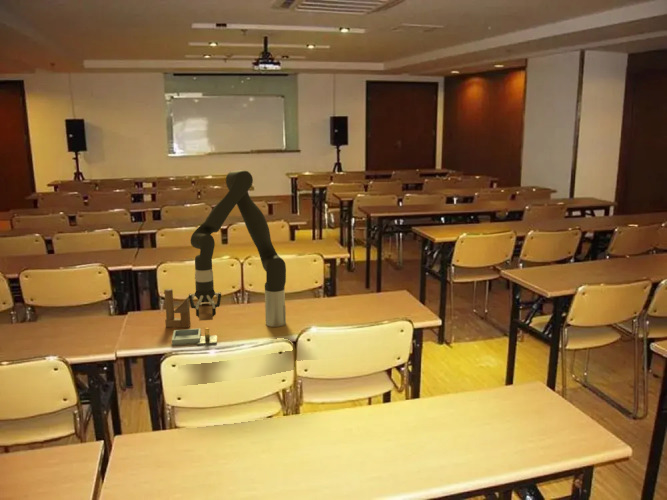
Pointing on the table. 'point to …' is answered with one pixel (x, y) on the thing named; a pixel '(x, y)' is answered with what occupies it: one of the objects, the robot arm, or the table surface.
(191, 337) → the tray
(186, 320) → the brown upright angular piece
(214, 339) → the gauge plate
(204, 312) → the bored block
